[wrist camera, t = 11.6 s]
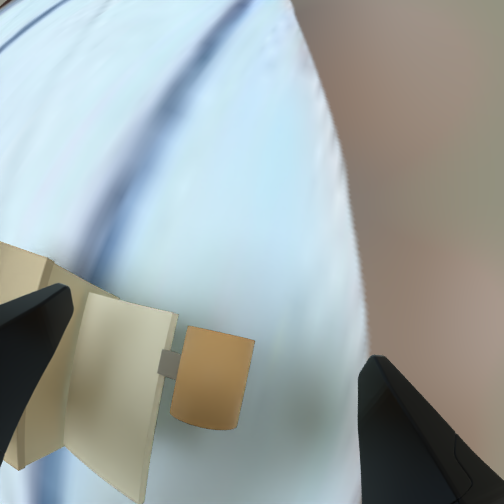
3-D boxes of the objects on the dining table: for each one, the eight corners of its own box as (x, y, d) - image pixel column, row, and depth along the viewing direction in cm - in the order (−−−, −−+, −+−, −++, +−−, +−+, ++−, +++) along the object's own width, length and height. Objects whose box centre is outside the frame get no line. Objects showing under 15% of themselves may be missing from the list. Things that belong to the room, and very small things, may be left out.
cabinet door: (48, 444, 10) (190, 550, 6) (74, 286, 13) (239, 322, 9) (82, 444, 12) (222, 528, 8) (108, 299, 15) (266, 333, 11)
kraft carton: (14, 388, 16) (-70, 391, 7) (37, 270, 19) (-42, 225, 10) (95, 430, 16) (18, 470, 7) (120, 297, 19) (47, 257, 10)
